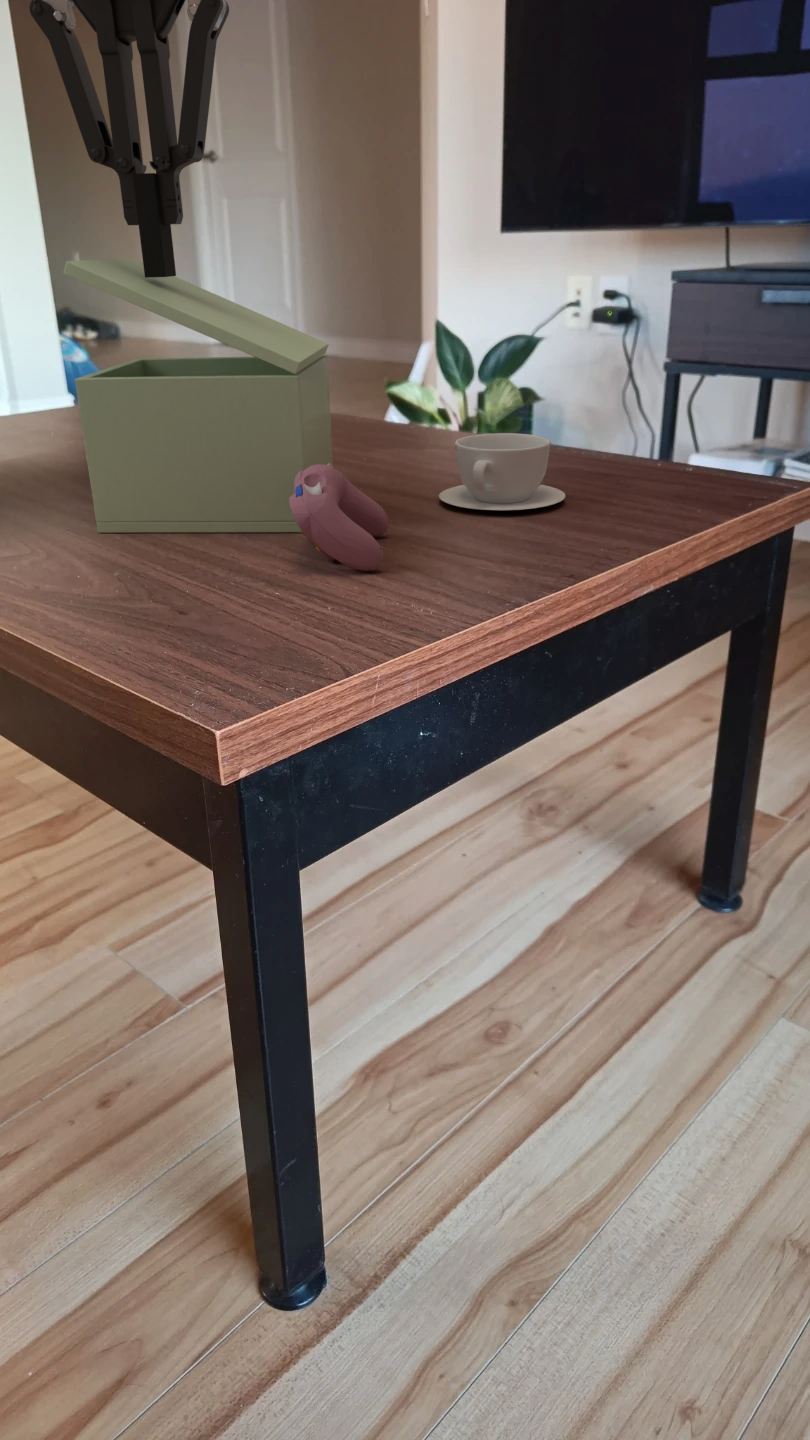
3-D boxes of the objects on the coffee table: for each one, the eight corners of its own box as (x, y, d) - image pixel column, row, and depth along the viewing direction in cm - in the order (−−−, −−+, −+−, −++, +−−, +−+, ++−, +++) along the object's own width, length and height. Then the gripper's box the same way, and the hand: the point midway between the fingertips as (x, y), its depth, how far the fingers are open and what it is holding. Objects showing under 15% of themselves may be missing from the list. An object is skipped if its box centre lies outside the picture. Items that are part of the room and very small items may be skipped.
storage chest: (97, 532, 75) (74, 378, 71) (153, 491, 88) (136, 358, 83) (307, 532, 74) (298, 375, 70) (334, 491, 86) (327, 355, 82)
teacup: (468, 484, 88) (468, 427, 86) (581, 493, 84) (584, 434, 82) (417, 510, 80) (416, 448, 78) (540, 521, 76) (542, 456, 74)
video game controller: (339, 555, 74) (289, 468, 71) (395, 526, 73) (346, 437, 70) (325, 598, 65) (268, 501, 63) (388, 566, 64) (333, 465, 62)
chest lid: (62, 273, 68) (65, 260, 68) (128, 268, 80) (131, 257, 80) (295, 374, 70) (299, 362, 69) (325, 354, 82) (328, 343, 81)
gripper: (-15, -151, 61) (52, 280, 71) (200, -164, 60) (238, 276, 70) (36, -112, 68) (91, 277, 78) (230, -123, 67) (260, 273, 77)
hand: (160, 276), depth 74 cm, fingers closed
